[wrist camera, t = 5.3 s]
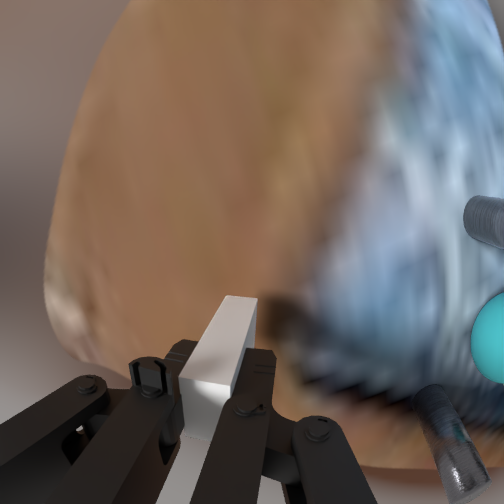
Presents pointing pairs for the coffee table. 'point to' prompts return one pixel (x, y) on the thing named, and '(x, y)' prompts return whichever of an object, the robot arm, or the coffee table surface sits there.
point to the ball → (490, 340)
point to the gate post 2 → (485, 220)
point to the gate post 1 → (450, 446)
